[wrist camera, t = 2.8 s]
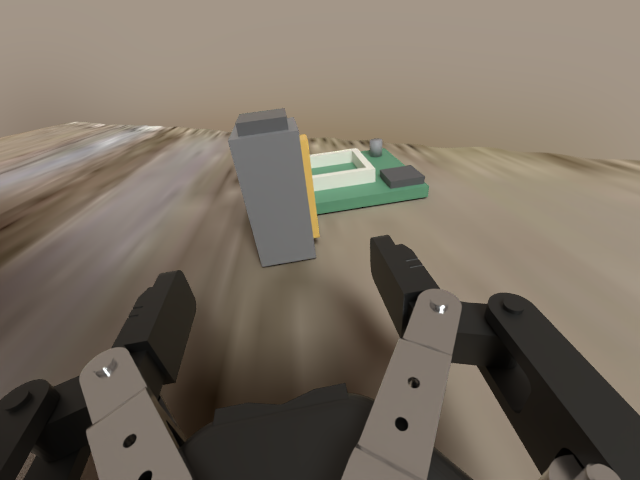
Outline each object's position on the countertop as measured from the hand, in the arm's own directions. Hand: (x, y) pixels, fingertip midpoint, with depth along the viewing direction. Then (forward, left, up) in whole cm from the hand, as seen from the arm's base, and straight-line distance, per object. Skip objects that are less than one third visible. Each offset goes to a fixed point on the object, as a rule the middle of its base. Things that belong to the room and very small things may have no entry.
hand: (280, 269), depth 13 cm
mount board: (+6, +23, -6) cm, 25 cm away
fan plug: (0, +11, -6) cm, 13 cm away
